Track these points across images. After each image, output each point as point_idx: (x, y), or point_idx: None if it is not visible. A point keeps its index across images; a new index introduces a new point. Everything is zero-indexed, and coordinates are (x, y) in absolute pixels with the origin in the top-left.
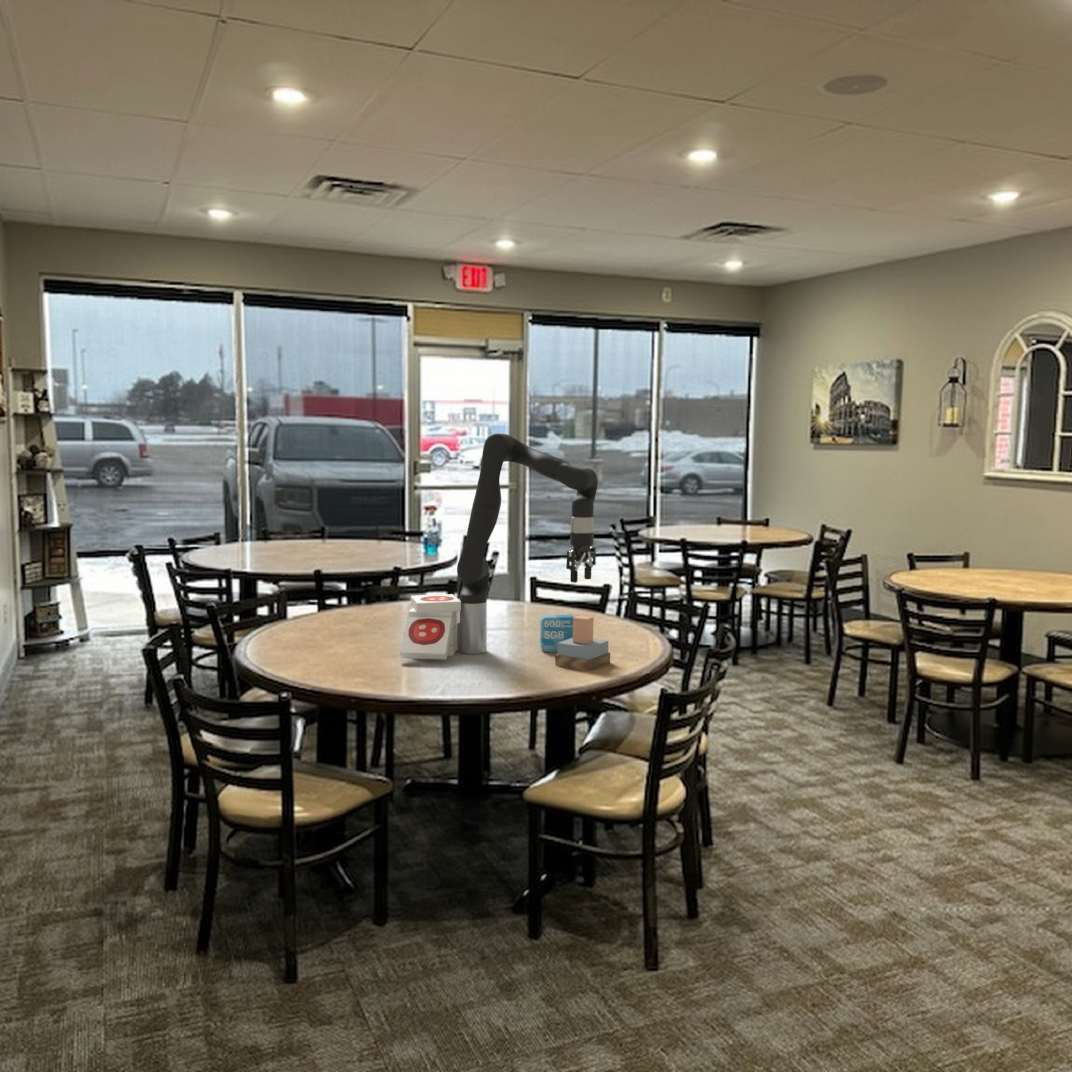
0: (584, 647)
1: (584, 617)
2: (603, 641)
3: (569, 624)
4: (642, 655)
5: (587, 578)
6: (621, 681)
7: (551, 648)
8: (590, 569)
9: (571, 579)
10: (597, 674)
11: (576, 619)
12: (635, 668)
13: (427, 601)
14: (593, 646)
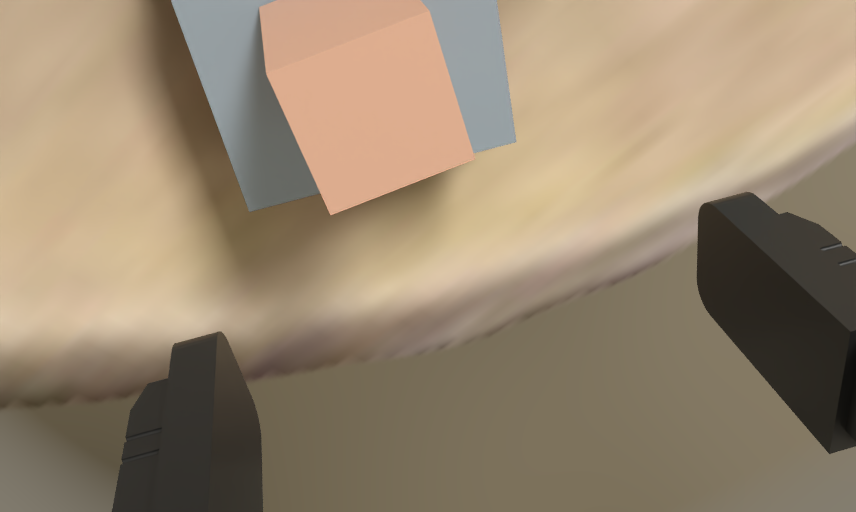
0: (234, 171)
1: (381, 129)
2: (473, 136)
3: None
4: (757, 90)
5: (703, 261)
6: None
7: None
8: (816, 430)
9: (143, 423)
10: (225, 232)
11: (283, 105)
12: (482, 260)
13: None
14: (302, 197)
